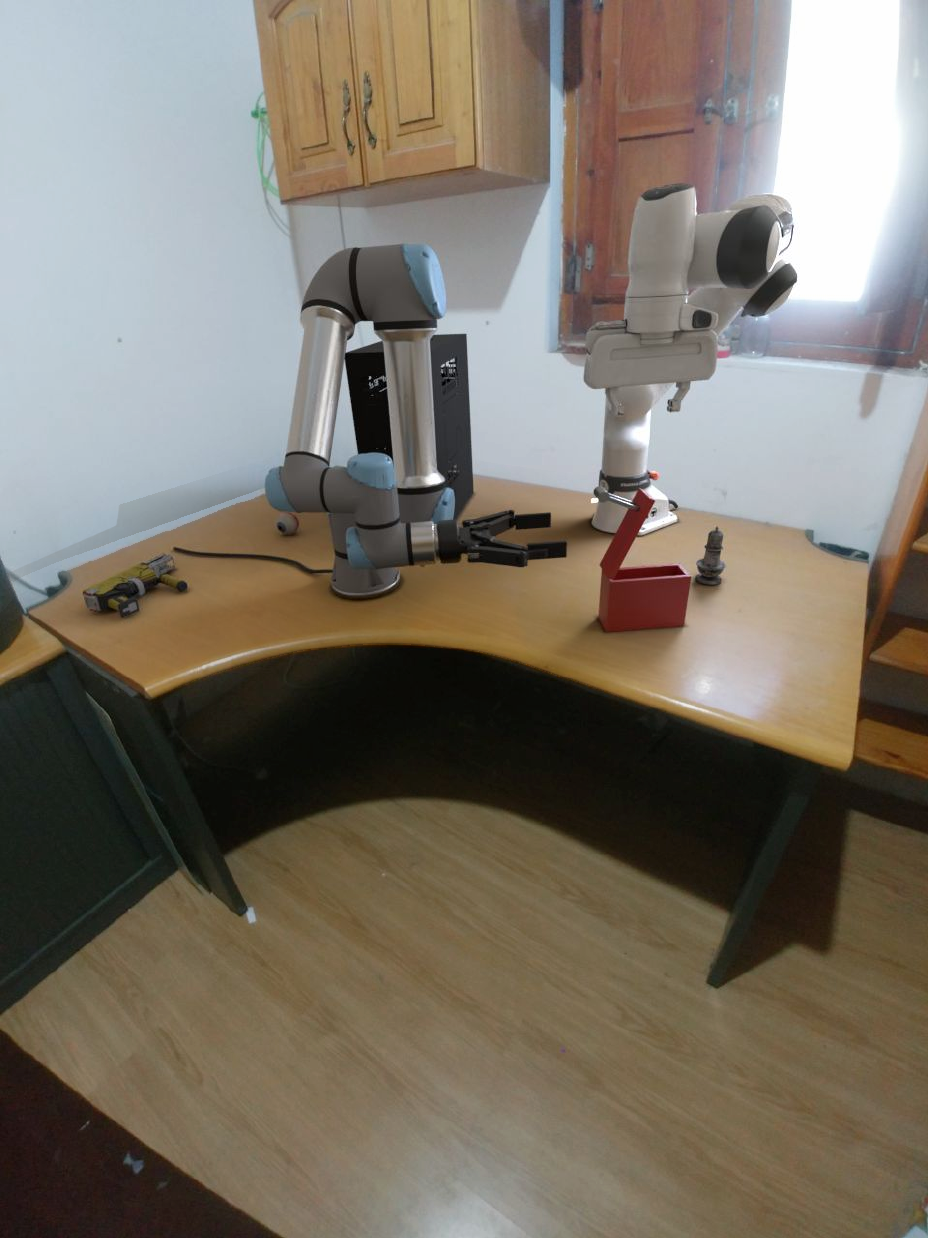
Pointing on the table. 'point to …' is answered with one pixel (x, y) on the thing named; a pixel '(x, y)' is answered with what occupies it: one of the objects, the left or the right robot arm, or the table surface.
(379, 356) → the black tall block
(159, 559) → the toy gun
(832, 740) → the table surface
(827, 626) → the table surface
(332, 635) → the table surface
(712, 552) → the grey chess bishop
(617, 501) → the lid
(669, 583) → the chest
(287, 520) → the eyeball
